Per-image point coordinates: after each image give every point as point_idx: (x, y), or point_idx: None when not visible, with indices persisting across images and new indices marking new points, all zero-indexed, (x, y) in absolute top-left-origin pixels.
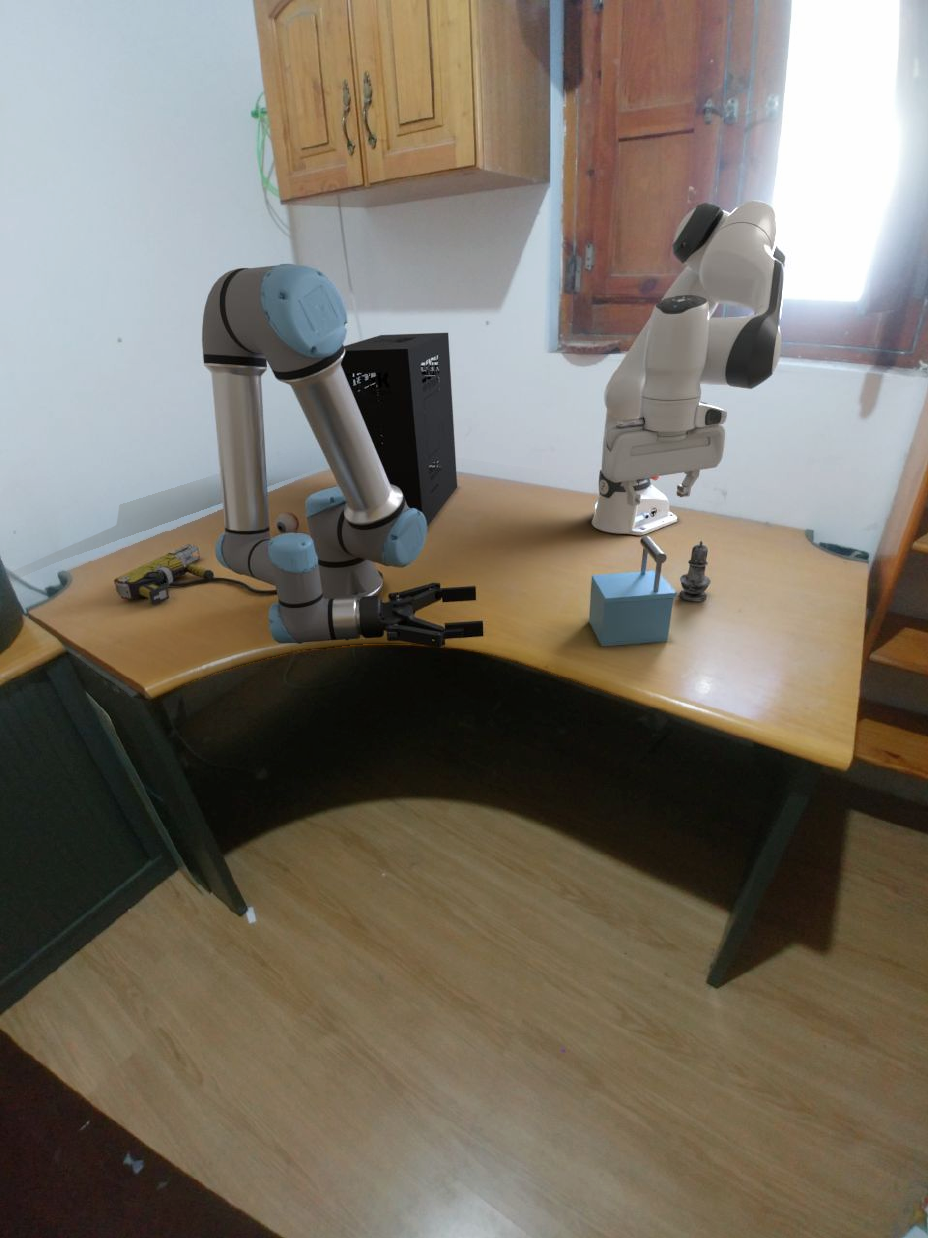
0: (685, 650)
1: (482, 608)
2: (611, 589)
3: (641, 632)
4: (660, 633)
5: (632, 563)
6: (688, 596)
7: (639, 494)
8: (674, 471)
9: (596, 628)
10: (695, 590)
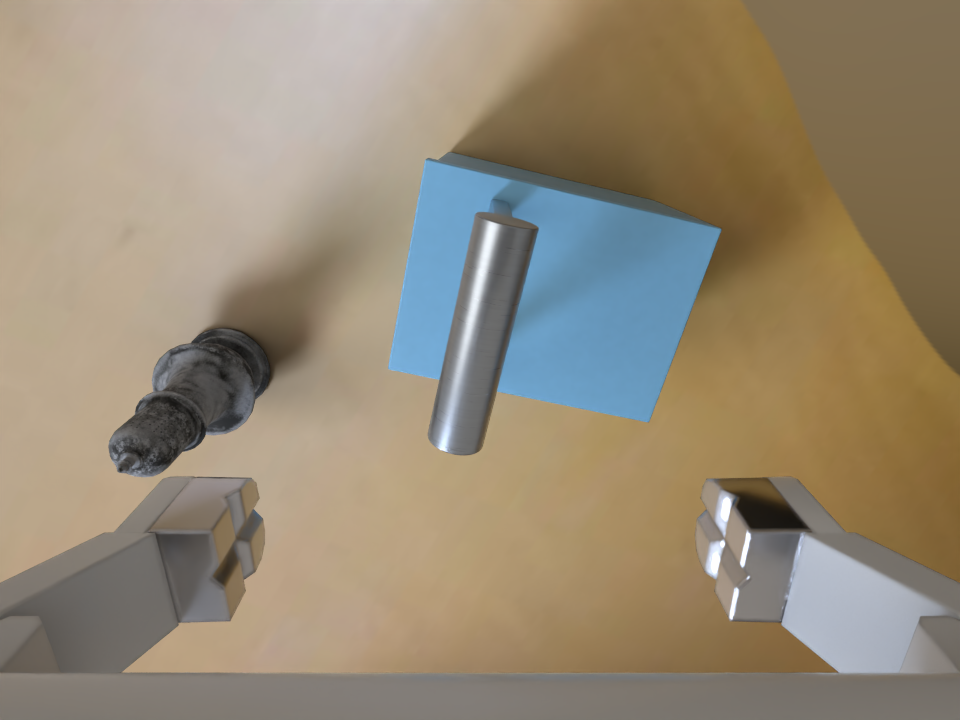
0: (423, 79)
1: (836, 513)
2: (653, 289)
3: (540, 175)
4: (475, 159)
5: (307, 590)
6: (249, 358)
7: (756, 541)
8: (346, 697)
9: None
10: (227, 348)
